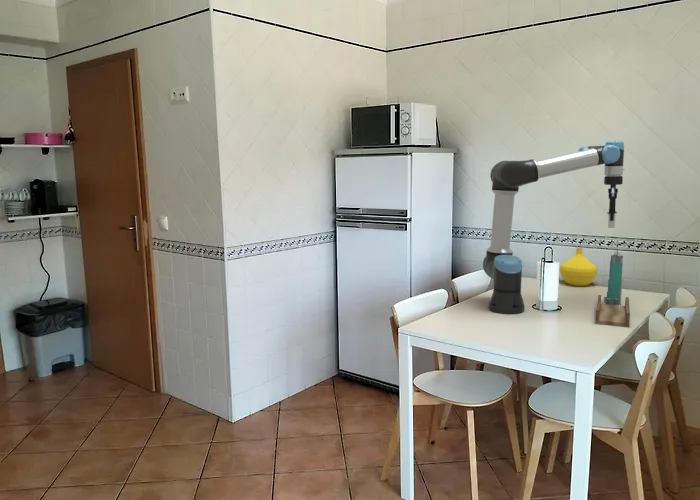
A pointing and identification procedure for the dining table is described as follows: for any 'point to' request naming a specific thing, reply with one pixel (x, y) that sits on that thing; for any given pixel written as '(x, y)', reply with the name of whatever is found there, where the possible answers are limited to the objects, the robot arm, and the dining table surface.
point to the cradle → (612, 314)
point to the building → (615, 280)
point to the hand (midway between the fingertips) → (611, 227)
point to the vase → (578, 270)
